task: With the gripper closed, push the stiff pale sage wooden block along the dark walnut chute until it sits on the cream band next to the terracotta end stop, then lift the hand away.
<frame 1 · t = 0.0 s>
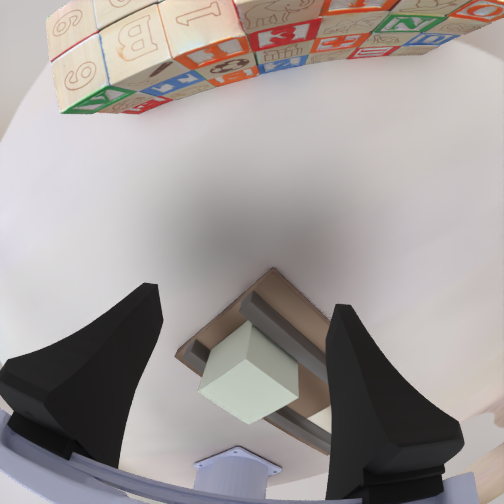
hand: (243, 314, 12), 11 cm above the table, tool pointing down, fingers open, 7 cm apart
chute: (308, 384, 27), on the table
sage block: (250, 372, 22), point 4 cm above the table, slide at 0.0 cm
stack of blocks: (270, 33, 17), on the table
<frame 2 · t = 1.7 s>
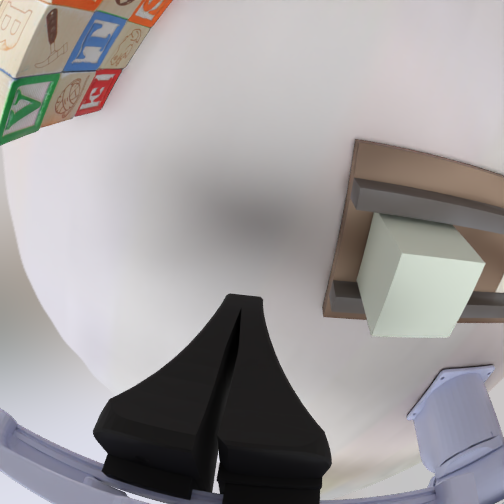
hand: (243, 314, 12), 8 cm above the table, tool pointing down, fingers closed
chute: (476, 251, 18), on the table
sage block: (415, 273, 15), point 4 cm above the table, slide at 0.0 cm
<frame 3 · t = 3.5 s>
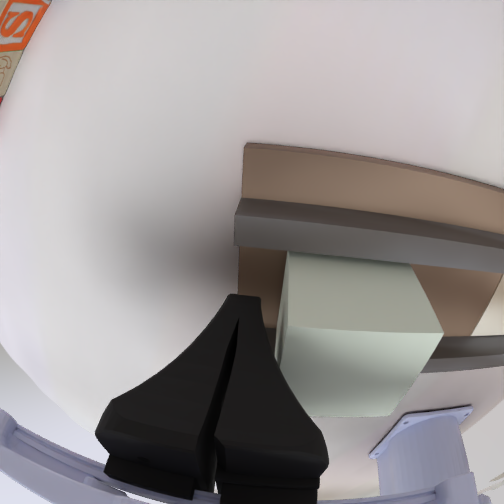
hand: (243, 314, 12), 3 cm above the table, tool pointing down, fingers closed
chute: (444, 286, 14), on the table
sage block: (343, 331, 12), point 4 cm above the table, slide at 0.5 cm, touching gripper
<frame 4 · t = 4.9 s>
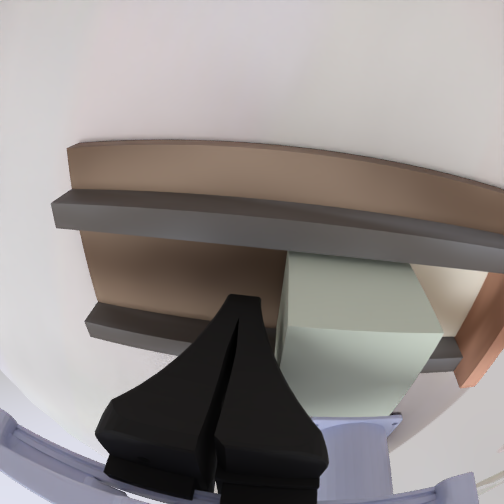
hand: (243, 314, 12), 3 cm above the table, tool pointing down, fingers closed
chute: (301, 274, 15), on the table
sage block: (343, 331, 12), point 4 cm above the table, slide at 8.6 cm, touching gripper
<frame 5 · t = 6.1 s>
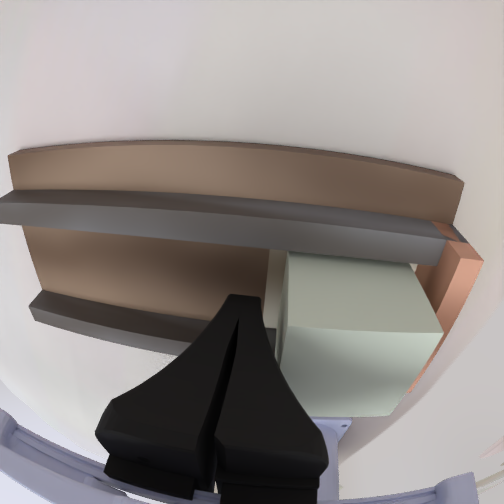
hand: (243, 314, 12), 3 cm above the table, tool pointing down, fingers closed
chute: (206, 264, 15), on the table
sage block: (343, 331, 12), point 4 cm above the table, slide at 13.2 cm, touching gripper
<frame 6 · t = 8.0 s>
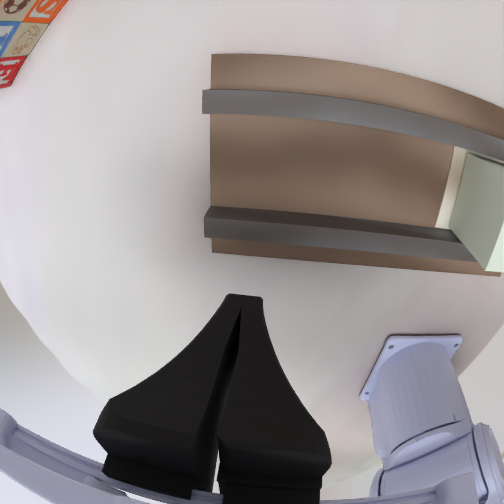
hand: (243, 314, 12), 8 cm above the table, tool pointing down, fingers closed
chute: (397, 173, 17), on the table
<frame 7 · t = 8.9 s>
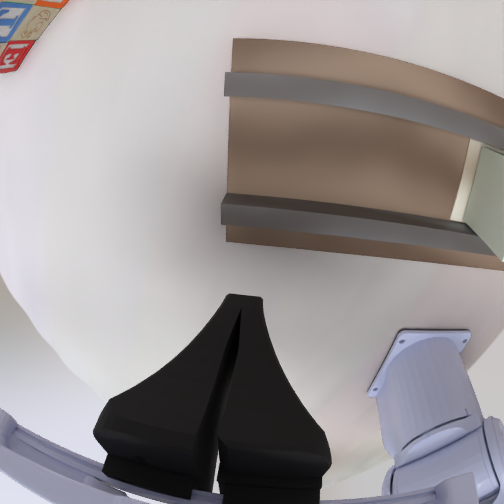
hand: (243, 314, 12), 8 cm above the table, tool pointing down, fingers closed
chute: (414, 165, 16), on the table
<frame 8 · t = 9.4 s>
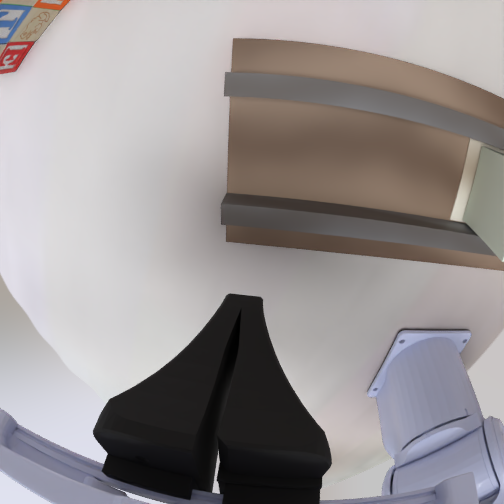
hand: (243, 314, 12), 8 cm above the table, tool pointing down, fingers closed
chute: (414, 165, 16), on the table
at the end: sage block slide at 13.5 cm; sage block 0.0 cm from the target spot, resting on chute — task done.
